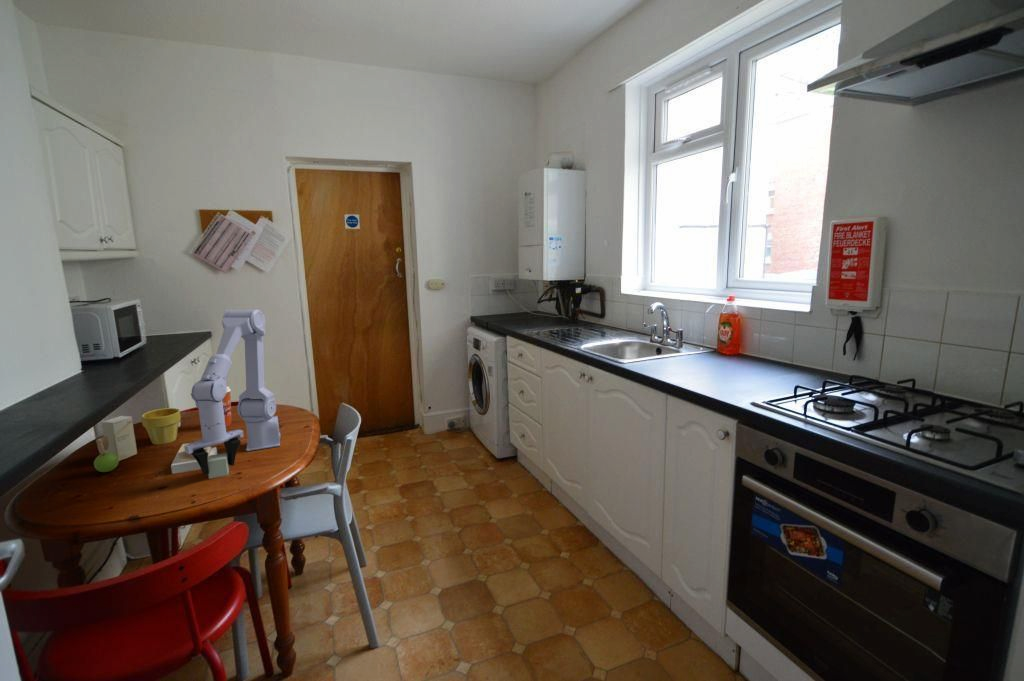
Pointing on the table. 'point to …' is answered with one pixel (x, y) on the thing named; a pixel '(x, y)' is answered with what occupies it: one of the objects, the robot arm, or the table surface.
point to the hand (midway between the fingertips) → (218, 469)
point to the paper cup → (227, 407)
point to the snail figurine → (105, 456)
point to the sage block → (218, 465)
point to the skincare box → (120, 436)
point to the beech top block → (188, 457)
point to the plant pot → (162, 424)
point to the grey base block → (188, 463)
